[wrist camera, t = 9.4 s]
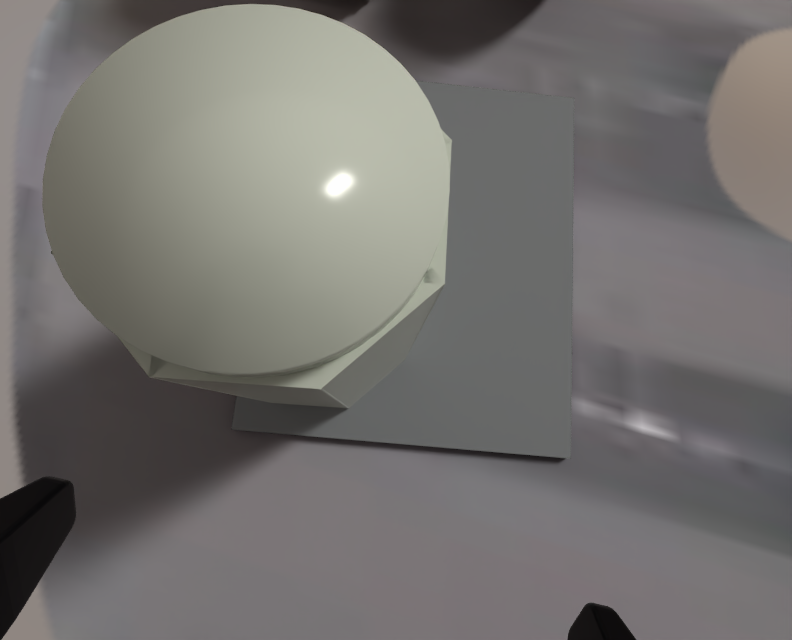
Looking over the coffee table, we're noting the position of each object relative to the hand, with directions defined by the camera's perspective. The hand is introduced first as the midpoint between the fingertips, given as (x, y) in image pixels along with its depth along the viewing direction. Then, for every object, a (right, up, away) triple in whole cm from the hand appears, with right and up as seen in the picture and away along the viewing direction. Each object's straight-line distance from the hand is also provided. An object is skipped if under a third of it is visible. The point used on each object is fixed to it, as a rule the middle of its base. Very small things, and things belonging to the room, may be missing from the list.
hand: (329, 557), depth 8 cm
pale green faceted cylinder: (-2, +4, +13) cm, 13 cm away
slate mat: (+2, +7, +14) cm, 16 cm away
